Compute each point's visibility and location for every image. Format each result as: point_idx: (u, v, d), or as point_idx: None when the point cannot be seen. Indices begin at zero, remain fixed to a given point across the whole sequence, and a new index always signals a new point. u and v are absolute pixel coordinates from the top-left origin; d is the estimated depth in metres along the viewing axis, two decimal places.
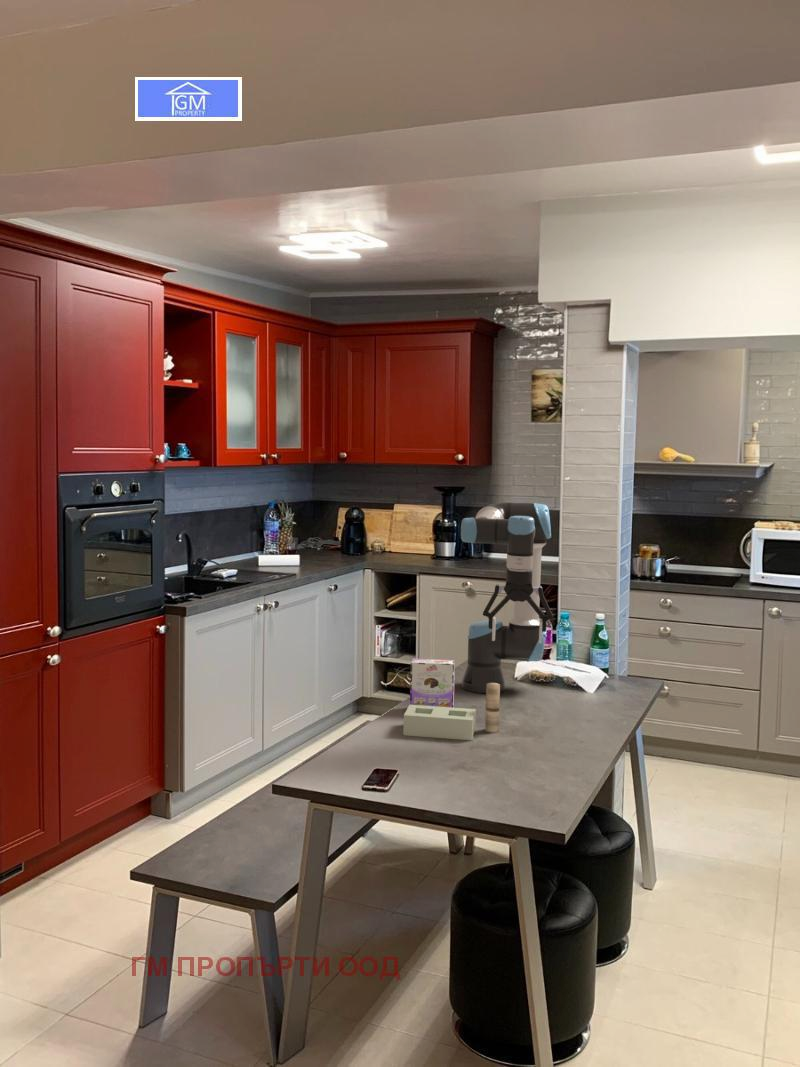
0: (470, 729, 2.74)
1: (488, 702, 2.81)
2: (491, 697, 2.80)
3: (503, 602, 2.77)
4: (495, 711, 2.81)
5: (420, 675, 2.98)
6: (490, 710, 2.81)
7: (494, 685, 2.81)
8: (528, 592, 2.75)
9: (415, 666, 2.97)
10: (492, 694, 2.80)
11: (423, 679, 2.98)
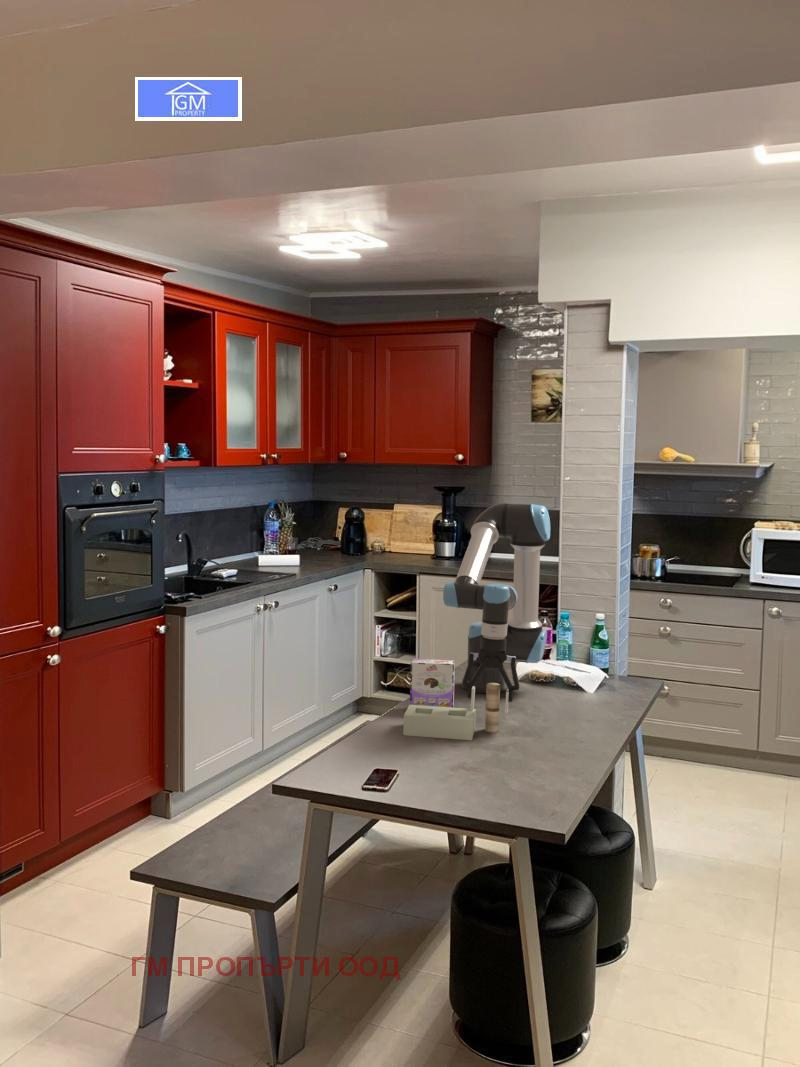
0: (470, 729, 2.74)
1: (488, 702, 2.81)
2: (491, 697, 2.80)
3: (479, 670, 2.81)
4: (495, 711, 2.81)
5: (420, 675, 2.98)
6: (490, 710, 2.81)
7: (494, 685, 2.81)
8: (501, 659, 2.80)
9: (415, 666, 2.97)
10: (492, 694, 2.80)
11: (423, 679, 2.98)
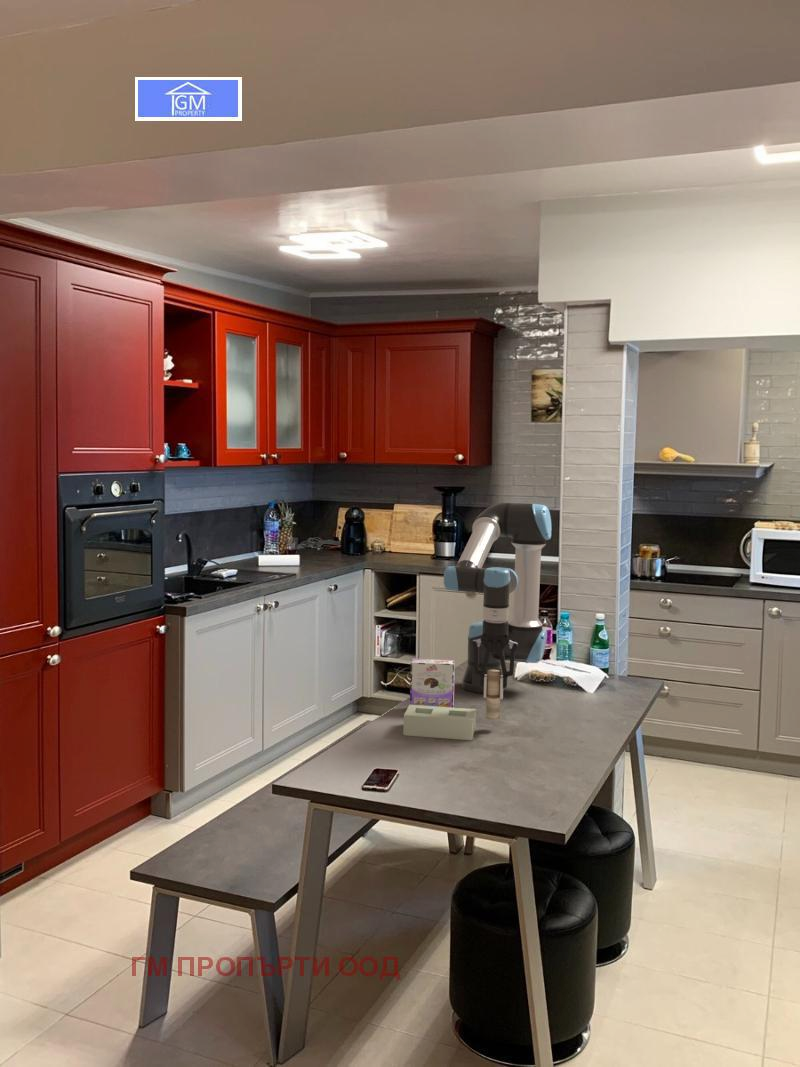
0: (470, 729, 2.74)
1: (488, 689, 2.81)
2: (492, 684, 2.81)
3: (486, 656, 2.80)
4: (496, 698, 2.81)
5: (420, 675, 2.98)
6: (491, 697, 2.81)
7: (495, 672, 2.81)
8: (503, 642, 2.79)
9: (415, 666, 2.97)
10: (493, 680, 2.80)
11: (423, 679, 2.98)
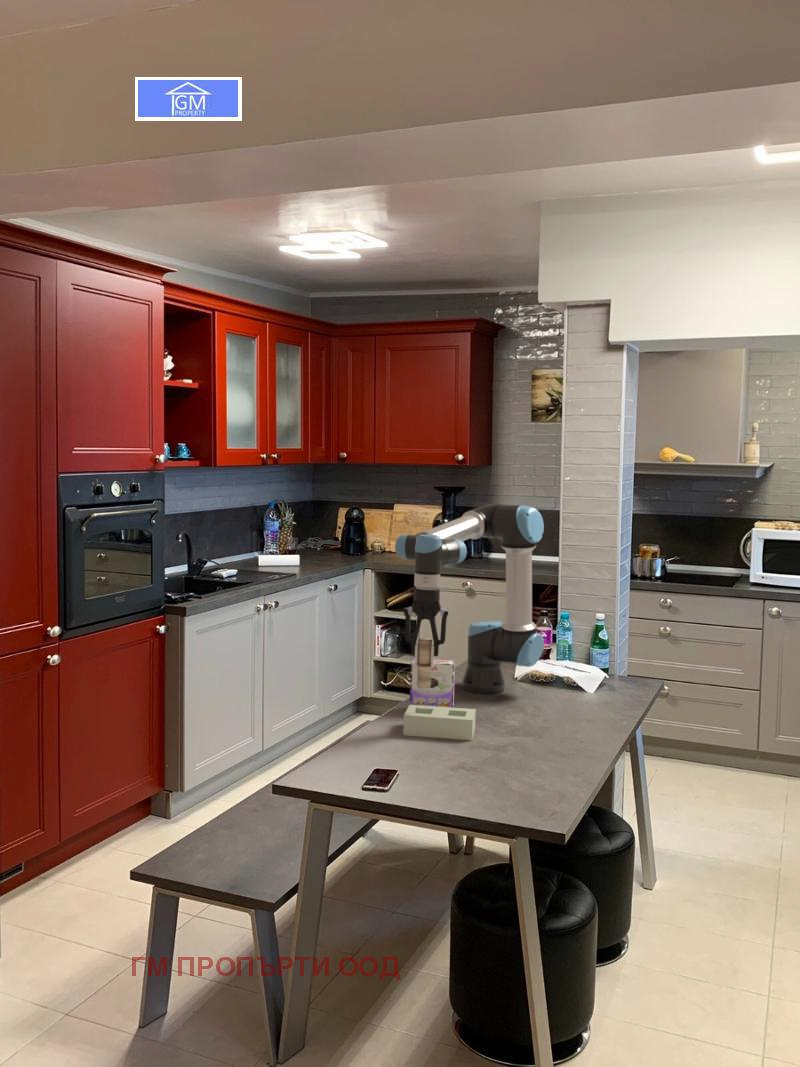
0: (470, 729, 2.74)
1: (419, 657, 2.78)
2: (422, 652, 2.77)
3: (417, 624, 2.77)
4: (427, 666, 2.78)
5: None
6: (422, 665, 2.78)
7: (426, 640, 2.78)
8: (434, 610, 2.76)
9: None
10: (424, 648, 2.77)
11: None
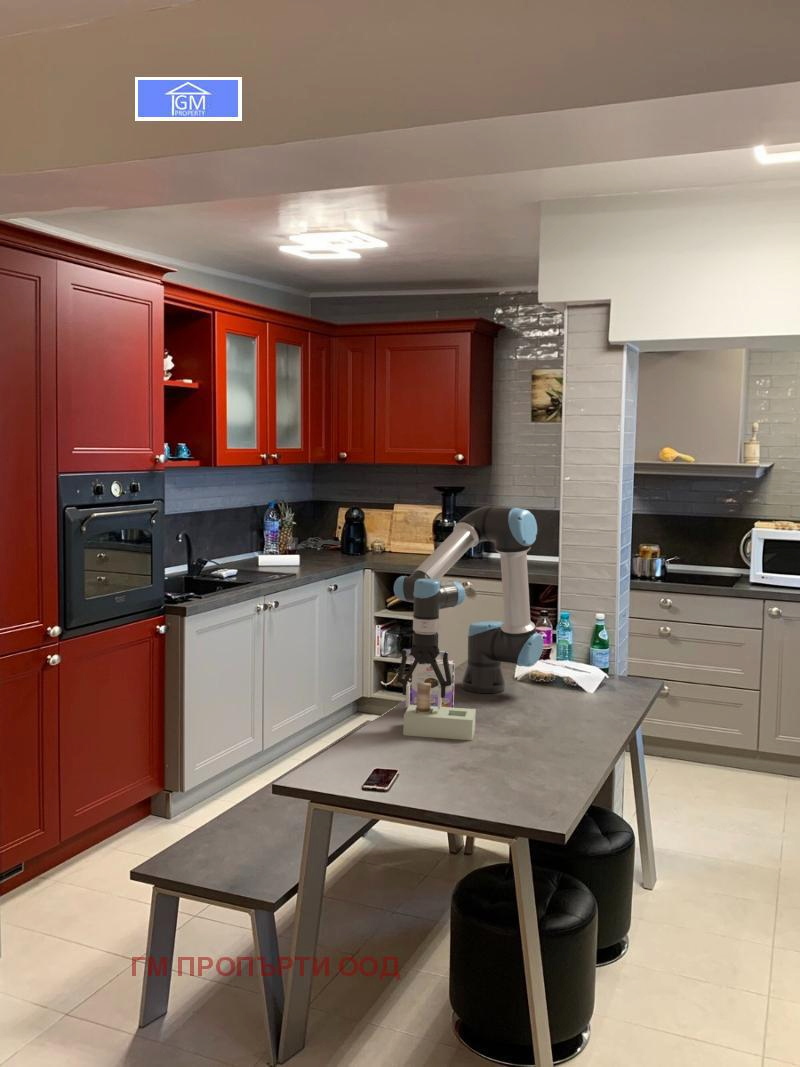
0: (470, 729, 2.74)
1: (418, 702, 2.79)
2: (422, 697, 2.79)
3: (412, 666, 2.79)
4: (426, 711, 2.79)
5: (420, 675, 2.98)
6: (421, 710, 2.79)
7: (425, 685, 2.79)
8: (433, 654, 2.78)
9: None
10: (423, 694, 2.78)
11: (423, 679, 2.98)
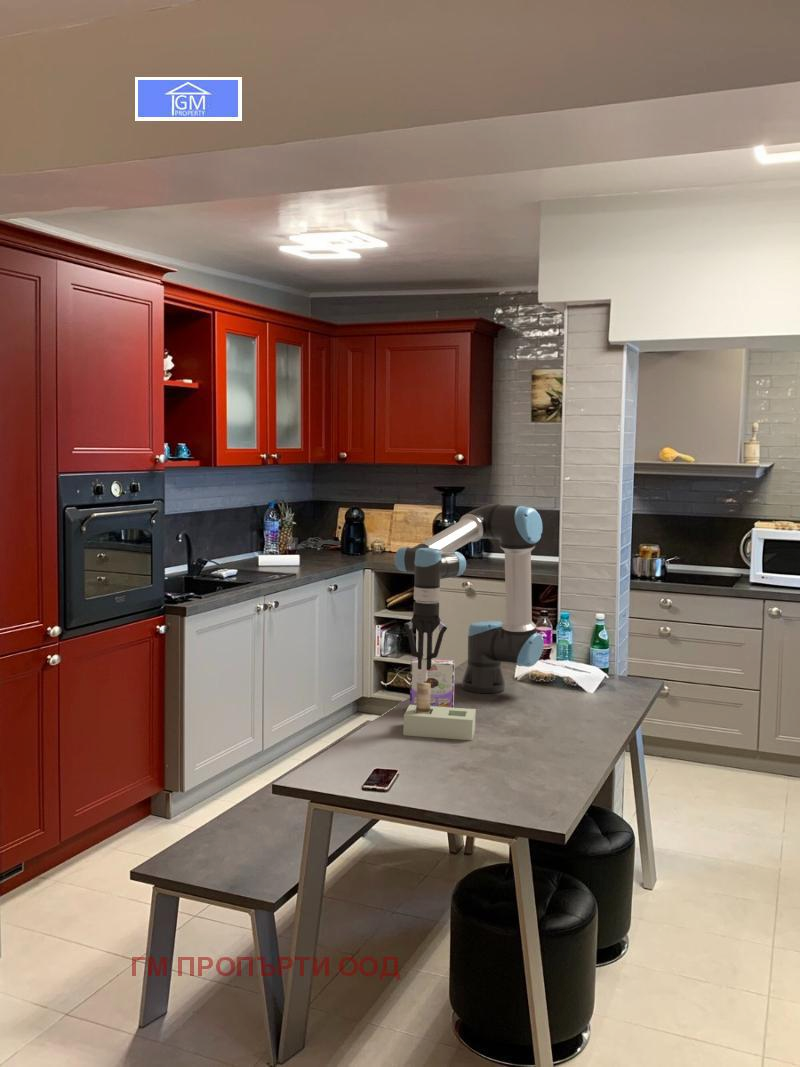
0: (470, 729, 2.74)
1: (418, 702, 2.79)
2: (421, 697, 2.79)
3: (420, 638, 2.78)
4: (425, 711, 2.79)
5: (420, 675, 2.98)
6: (420, 710, 2.79)
7: (424, 685, 2.79)
8: (433, 623, 2.77)
9: (415, 666, 2.97)
10: (422, 694, 2.78)
11: None
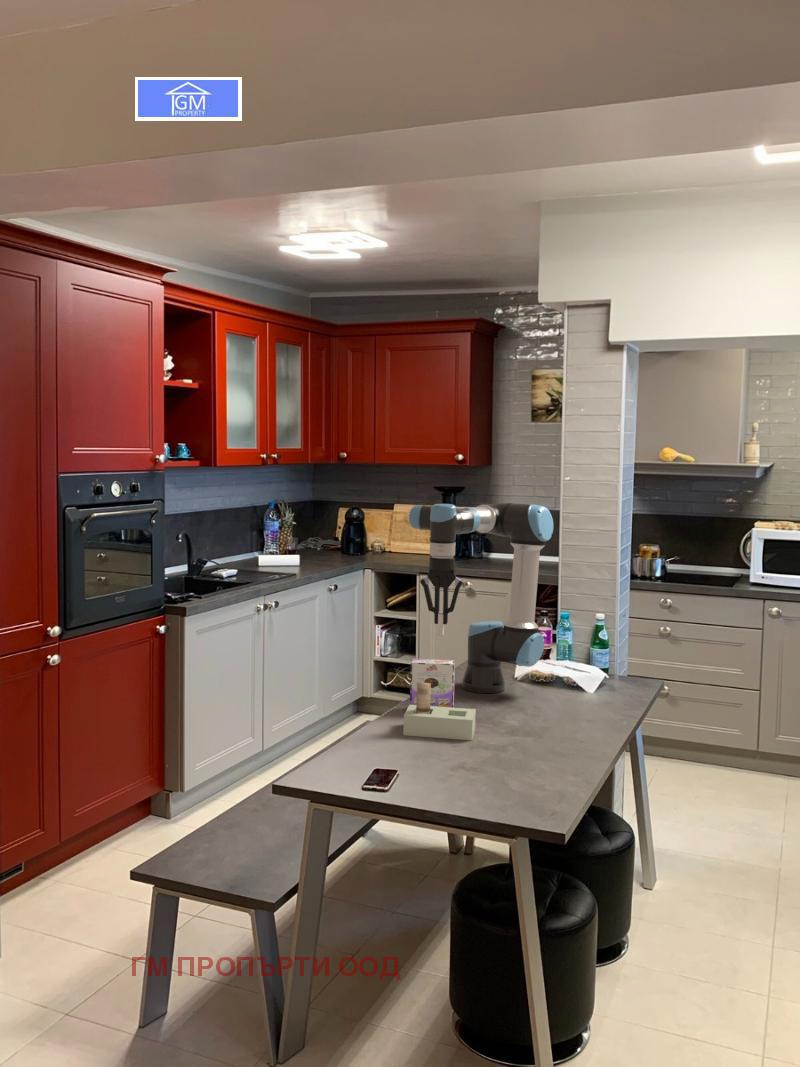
0: (470, 729, 2.74)
1: (418, 702, 2.79)
2: (421, 697, 2.79)
3: (436, 593, 2.81)
4: (425, 711, 2.79)
5: (420, 675, 2.98)
6: (420, 710, 2.79)
7: (424, 685, 2.79)
8: (449, 578, 2.80)
9: (415, 666, 2.97)
10: (423, 694, 2.79)
11: (423, 679, 2.98)
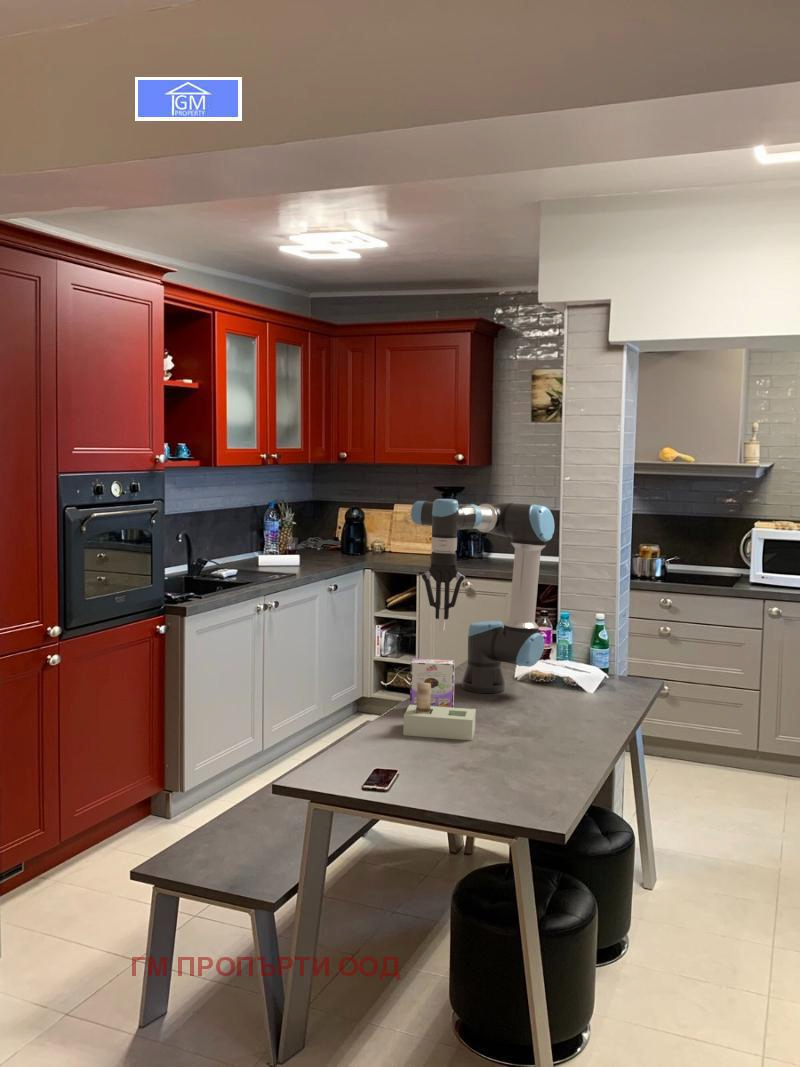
0: (470, 729, 2.74)
1: (418, 702, 2.79)
2: (421, 697, 2.79)
3: (437, 588, 2.81)
4: (426, 711, 2.79)
5: (420, 675, 2.98)
6: (421, 710, 2.79)
7: (425, 685, 2.79)
8: (451, 572, 2.80)
9: (415, 666, 2.97)
10: (423, 694, 2.78)
11: (423, 679, 2.98)
